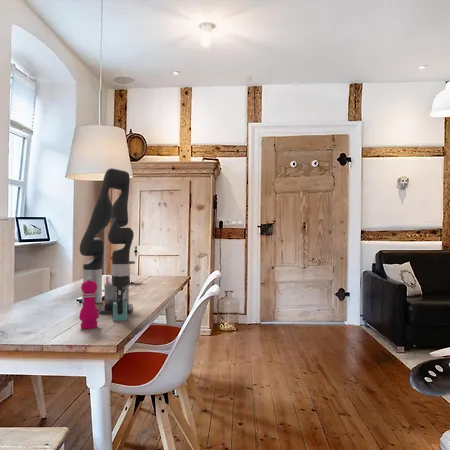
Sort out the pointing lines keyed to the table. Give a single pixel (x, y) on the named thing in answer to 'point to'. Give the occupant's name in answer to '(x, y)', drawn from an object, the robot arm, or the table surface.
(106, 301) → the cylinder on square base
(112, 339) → the table surface
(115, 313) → the turquoise cube
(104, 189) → the robot arm
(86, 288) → the pepper mill
